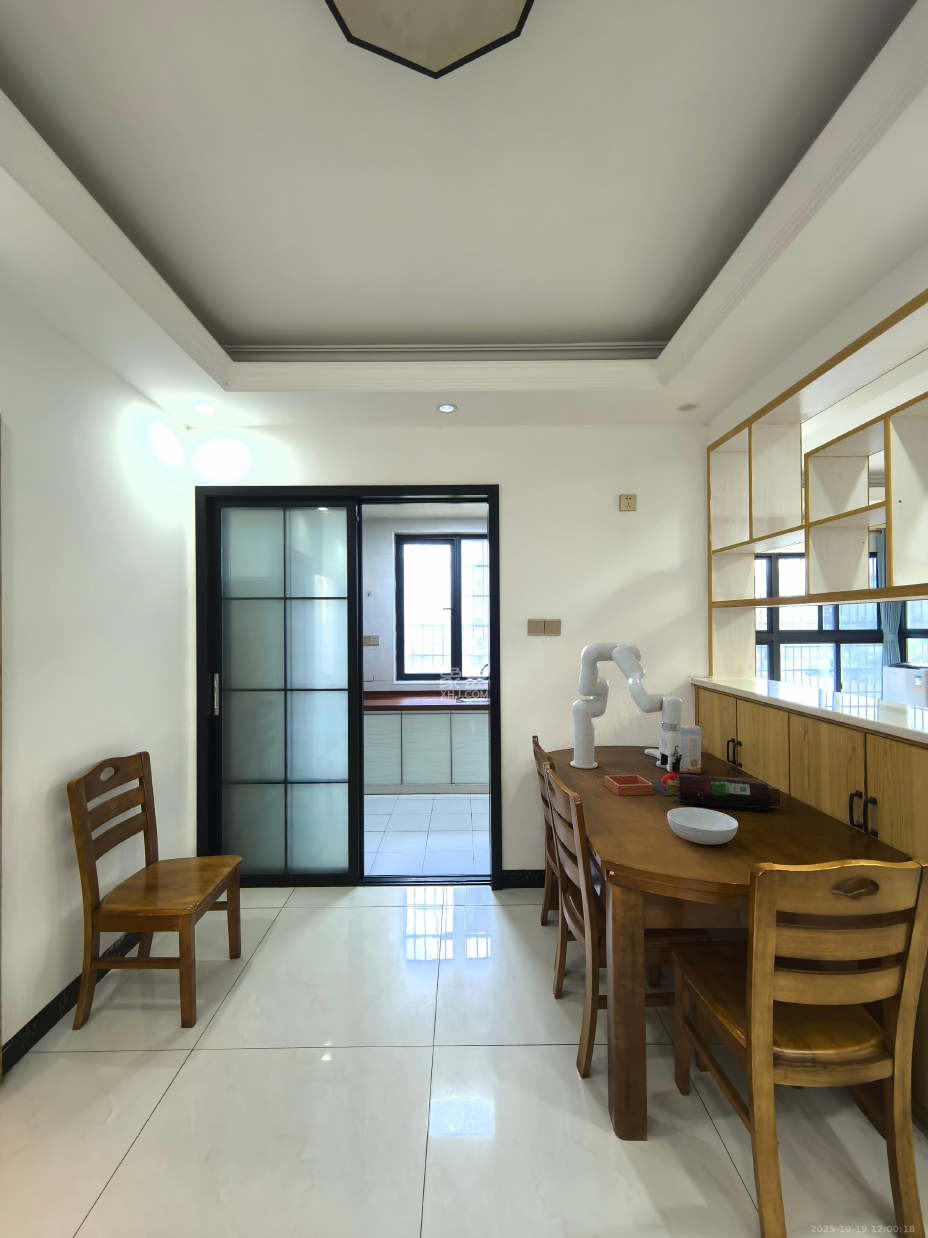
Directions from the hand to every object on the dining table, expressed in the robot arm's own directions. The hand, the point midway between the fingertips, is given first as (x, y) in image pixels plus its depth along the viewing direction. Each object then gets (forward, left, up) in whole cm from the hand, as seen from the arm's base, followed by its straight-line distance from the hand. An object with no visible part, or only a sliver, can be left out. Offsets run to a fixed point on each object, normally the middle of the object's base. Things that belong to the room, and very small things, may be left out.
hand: (669, 768), depth 243 cm
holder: (-44, +23, -9) cm, 51 cm away
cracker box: (-24, +19, -9) cm, 32 cm away
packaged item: (+23, +9, -9) cm, 26 cm away
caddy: (0, -18, -8) cm, 20 cm away
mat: (+1, 0, -8) cm, 8 cm away
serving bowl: (+54, -17, -9) cm, 57 cm away
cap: (+1, 0, -8) cm, 8 cm away
